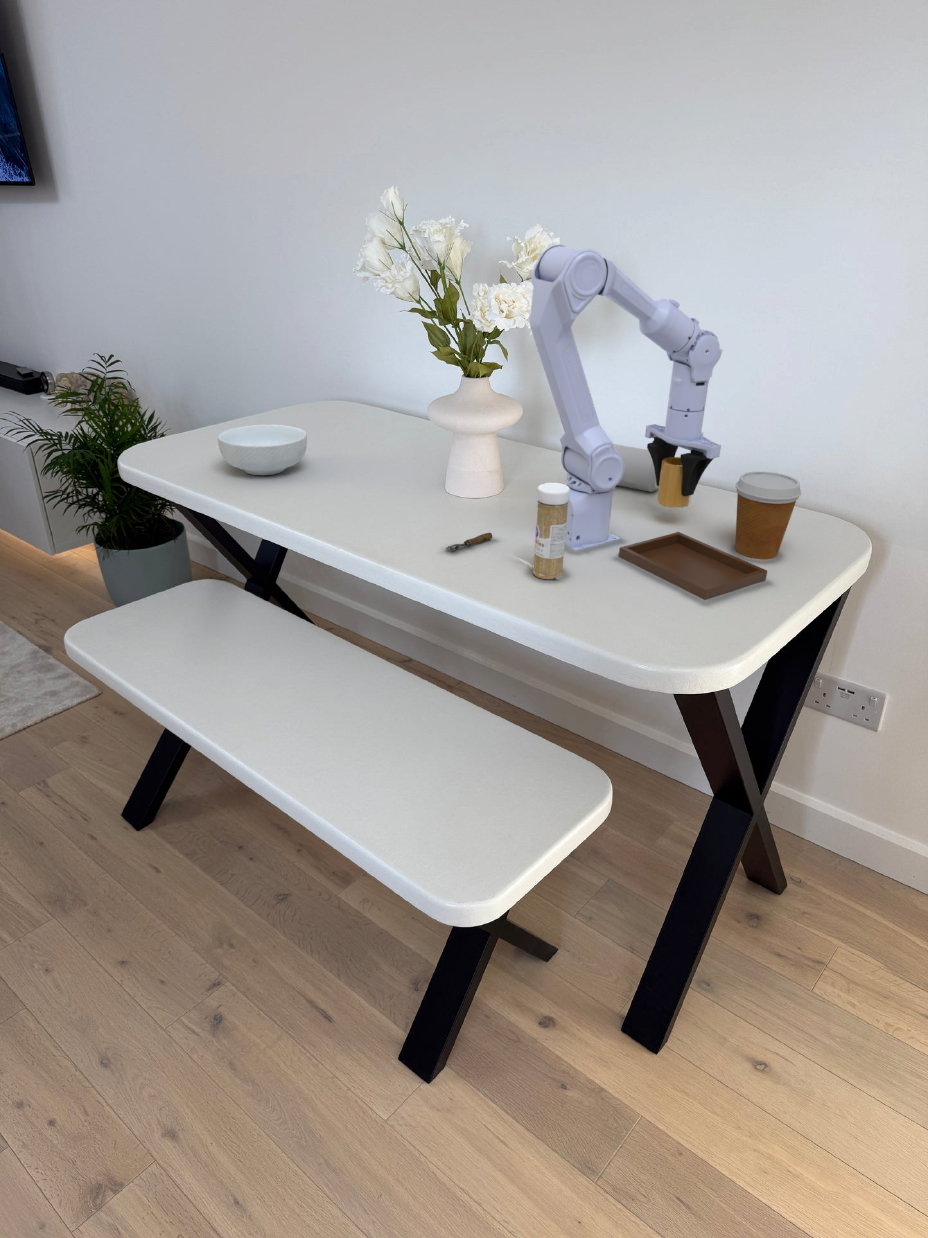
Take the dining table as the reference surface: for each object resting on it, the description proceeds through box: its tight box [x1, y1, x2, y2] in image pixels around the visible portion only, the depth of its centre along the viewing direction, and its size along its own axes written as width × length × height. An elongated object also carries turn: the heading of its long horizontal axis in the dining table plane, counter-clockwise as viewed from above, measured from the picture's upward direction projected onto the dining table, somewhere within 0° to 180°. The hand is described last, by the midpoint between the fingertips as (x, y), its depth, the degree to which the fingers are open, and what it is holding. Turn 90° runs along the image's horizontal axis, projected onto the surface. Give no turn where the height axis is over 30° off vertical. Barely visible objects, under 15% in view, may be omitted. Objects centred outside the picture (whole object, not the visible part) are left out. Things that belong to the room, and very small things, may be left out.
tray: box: [618, 531, 768, 601], centre depth 127 cm, size 13×18×2 cm
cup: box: [656, 456, 692, 509], centre depth 140 cm, size 5×5×7 cm
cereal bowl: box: [217, 424, 308, 476], centre depth 165 cm, size 17×17×7 cm
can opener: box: [445, 532, 493, 552], centre depth 134 cm, size 9×2×1 cm, turn 125°
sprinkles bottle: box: [532, 482, 570, 580], centre depth 122 cm, size 5×5×14 cm
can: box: [612, 443, 659, 493], centre depth 160 cm, size 8×8×12 cm
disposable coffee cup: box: [734, 471, 802, 561], centre depth 130 cm, size 10×10×12 cm
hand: (674, 489), depth 141 cm, fingers closed on cup, 5 cm apart
